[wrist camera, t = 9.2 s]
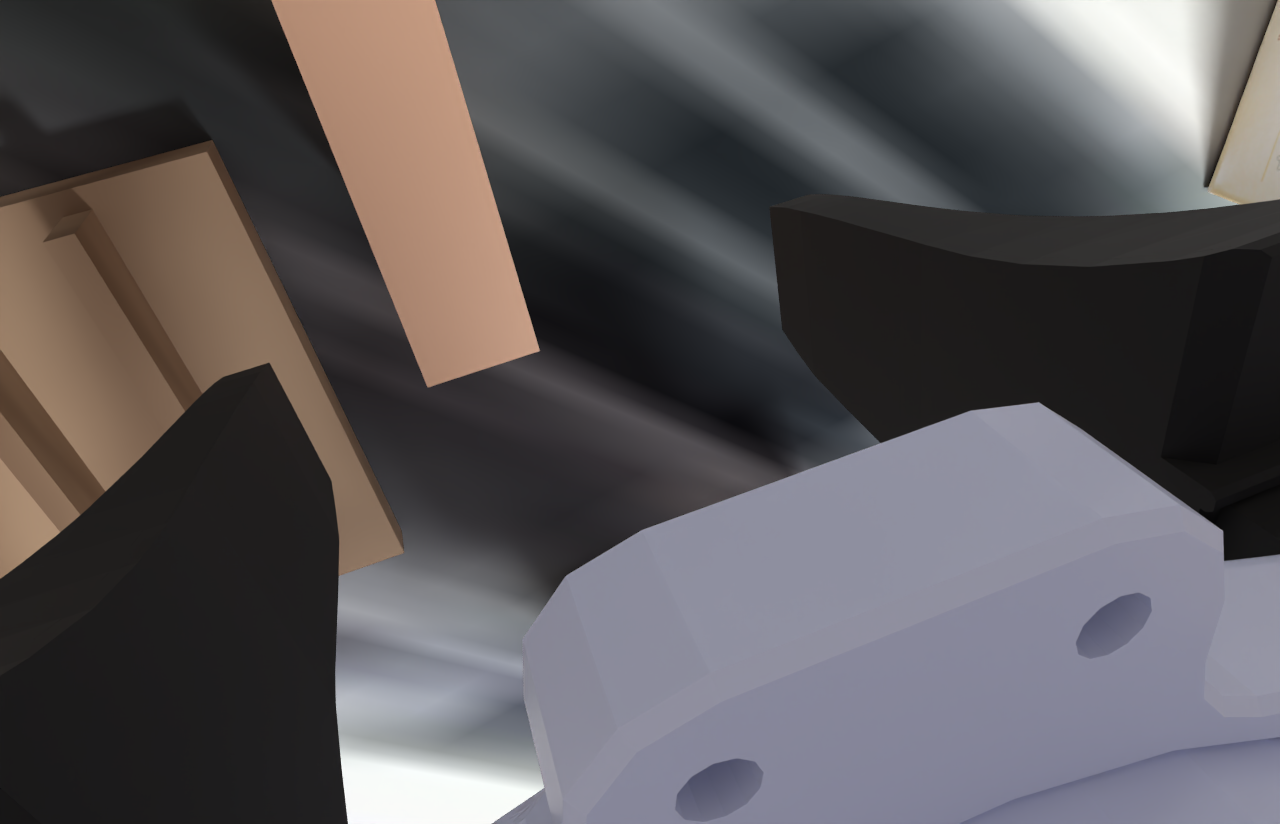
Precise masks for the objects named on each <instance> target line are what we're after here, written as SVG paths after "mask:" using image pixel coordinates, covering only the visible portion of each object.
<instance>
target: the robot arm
mask: <svg viewBox="0 0 1280 824" xmlns="http://www.w3.org/2000/svg"><path fill="white" fill-rule="evenodd" d="M770 217H771V226H772V236H773V245H774V255H775V264H776V274H777V283H778V293H779V302H780V312H781V321H782V330H783V331H784V333H785V334H786V336H787V337H788V339H789V340H790V342H791V343H792V345H793V346H794V348H795V349H796V351H797V352H798V354H799V355H800V356H801V358H802V359H803V360H804V362H805V363H806V365H807V366H808V367H809V369H810V370H811V371H812V373H813V374H814V375H815V376H816V377H817V378H818V380H819V381H820V382H821V383H822V384H823V385H824V386H825V387H826V388H827V389H828V390H829V391H830V392H831V393H832V394H833V395H834V396H835V397H836V398H837V399H838V400H839V401H840V402H841V403H842V404H843V406H844V407H845V408H846V409H847V410H848V411H849V412H850V413H851V414H852V415H853V416H854V417H855V418H856V419H857V420H858V421H859V422H860V423H861V424H862V425H863V426H864V427H865V428H866V429H867V430H868V431H869V432H870V433H871V434H872V435H873V436H874V437H875V438H876V439H877V440H878V441H879V442H880V444H878V445H875V446H872V447H869V448H867V449H864V450H861V451H858V452H856V453H853V454H850V455H847V456H844V457H842V458H839V459H836V460H833V461H831V462H828V463H825V464H822V465H820V466H817V467H814V468H811V469H809V470H806V471H803V472H800V473H798V474H795V475H792V476H789V477H787V478H784V479H781V480H778V481H776V482H773V483H770V484H767V485H765V486H762V487H759V488H756V489H754V490H751V491H748V492H745V493H743V494H740V495H737V496H734V497H732V498H729V499H726V500H723V501H721V502H718V503H715V504H712V505H710V506H707V507H704V508H701V509H699V510H696V511H693V512H690V513H688V514H685V515H682V516H679V517H676V518H674V519H671V520H668V521H665V522H663V523H660V524H657V525H654V526H652V527H649V528H646V529H643V530H641V531H639V532H638V533H636V534H634V535H633V536H631V537H629V538H628V539H626V540H624V541H623V542H621V543H619V544H618V545H616V546H614V547H613V548H611V549H609V550H608V551H606V552H604V553H603V554H601V555H600V556H598V557H596V558H595V559H593V560H591V561H590V562H588V563H586V564H585V565H583V566H581V567H580V568H578V569H576V570H575V571H573V572H571V573H570V574H568V575H566V576H565V578H564V579H563V581H562V582H561V584H560V585H559V586H558V588H557V589H556V591H555V592H554V594H553V595H552V597H551V598H550V600H549V601H548V602H547V604H546V605H545V607H544V608H543V610H542V611H541V613H540V614H539V616H538V617H537V619H536V620H535V621H534V623H533V624H532V626H531V627H530V629H529V630H528V632H527V633H526V635H525V636H524V637H523V697H524V702H525V706H526V710H527V715H528V719H529V723H530V727H531V732H532V736H533V740H534V744H535V749H536V753H537V757H538V762H539V766H540V770H541V774H542V779H543V783H544V787H545V788H544V789H542V790H541V791H539V792H538V793H536V794H535V795H533V796H532V797H531V798H529V799H528V800H526V801H525V802H523V803H522V804H520V805H519V806H517V807H516V808H514V809H513V810H511V811H510V812H508V813H507V814H505V815H504V816H502V817H501V818H500V819H498V820H497V821H495V822H494V823H492V824H1280V199H1278V200H1271V201H1264V202H1256V203H1248V204H1241V205H1233V206H1225V207H1217V208H1209V209H1199V210H1189V211H1179V212H1167V213H1151V214H1134V215H1117V216H1084V217H1074V216H1023V215H1004V214H992V213H981V212H970V211H959V210H950V209H941V208H933V207H925V206H918V205H910V204H903V203H896V202H889V201H882V200H874V199H867V198H859V197H851V196H841V195H828V194H815V195H806V196H803V197H800V198H797V199H793V200H790V201H787V202H784V203H780V204H777V205H774V206H771V207H770ZM338 576H339V532H338V523H337V515H336V508H335V501H334V494H333V487H332V480H331V479H330V477H329V475H328V473H327V471H326V469H325V467H324V465H323V463H322V461H321V460H320V458H319V456H318V454H317V452H316V450H315V448H314V446H313V444H312V442H311V441H310V439H309V437H308V435H307V433H306V431H305V429H304V427H303V425H302V423H301V421H300V420H299V418H298V416H297V414H296V412H295V410H294V408H293V406H292V404H291V402H290V401H289V399H288V397H287V395H286V393H285V391H284V389H283V387H282V385H281V383H280V382H279V380H278V378H277V376H276V374H275V372H274V370H273V368H272V366H271V364H270V362H269V363H266V364H263V365H260V366H257V367H253V368H250V369H247V370H244V371H240V372H237V373H234V374H231V375H228V376H224V377H222V378H221V379H219V380H218V381H217V382H215V383H214V384H213V385H212V386H211V387H209V388H208V389H207V390H206V391H205V392H204V393H203V394H202V395H201V396H200V397H199V398H198V399H197V400H196V401H195V402H194V403H193V404H192V405H191V406H190V407H189V408H188V409H187V410H186V411H185V412H184V413H183V414H182V415H181V416H180V417H179V418H178V420H177V421H176V422H175V423H174V424H173V425H172V426H171V427H170V428H169V429H168V430H167V431H166V432H165V433H164V434H163V435H162V436H161V437H160V438H159V439H158V440H157V441H156V442H155V444H154V445H153V446H152V447H151V448H150V449H149V450H148V451H147V452H146V453H145V454H144V455H143V456H142V457H141V458H140V459H139V460H138V461H137V462H136V463H135V464H134V465H133V466H132V467H131V468H130V469H129V470H128V471H127V472H125V473H124V474H123V475H122V476H121V477H120V478H119V479H118V480H117V481H116V482H115V483H114V484H113V485H112V486H111V487H110V488H109V489H108V490H107V491H106V492H105V493H104V494H102V495H101V496H100V497H99V498H98V499H97V500H96V501H95V502H94V503H93V504H92V505H91V506H90V507H89V508H88V509H87V510H85V511H84V512H83V513H82V514H81V515H80V516H79V517H78V518H76V519H75V520H74V521H73V522H72V523H71V524H69V525H68V526H67V527H66V528H65V529H63V530H62V531H61V532H60V533H59V534H58V535H56V536H55V537H54V538H53V539H51V540H50V541H49V542H48V543H46V544H45V545H44V546H42V547H41V548H40V549H39V550H37V551H36V552H35V553H34V554H32V555H31V556H30V557H29V558H27V559H26V560H25V561H24V562H22V563H21V564H20V565H18V566H17V567H16V568H14V569H13V570H12V571H10V572H9V573H8V574H6V575H5V576H3V577H2V578H1V579H0V824H348V821H347V813H346V804H345V795H344V787H343V778H342V769H341V758H340V747H339V736H338V725H337V714H336V697H335V662H336V634H337V606H338Z"/></svg>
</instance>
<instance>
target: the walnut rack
mask: <svg viewBox="0 0 1280 824" xmlns="http://www.w3.org/2000/svg"><path fill="white" fill-rule="evenodd" d="M269 362H270V364H271V366H272V368H273V370H274V372H275V374H276V376H277V378H278V380H279V382H280V383H281V385H282V387H283V389H284V391H285V393H286V395H287V397H288V399H289V401H290V402H291V404H292V406H293V408H294V410H295V412H296V414H297V416H298V418H299V420H300V421H301V423H302V425H303V427H304V429H305V431H306V433H307V435H308V437H309V439H310V441H311V442H312V444H313V446H314V448H315V450H316V452H317V454H318V456H319V458H320V460H321V461H322V463H323V465H324V467H325V469H326V471H327V473H328V475H329V477H330V479H331V480H332V487H333V494H334V501H335V508H336V515H337V523H338V532H339V576H340V575H343V574H345V573H348V572H351V571H354V570H357V569H360V568H363V567H365V566H368V565H371V564H374V563H377V562H380V561H382V560H385V559H388V558H391V557H394V556H397V555H400V554H402V553H404V546H403V537H402V531H401V529H400V526H399V524H398V522H397V520H396V518H395V516H394V514H393V512H392V510H391V508H390V506H389V504H388V502H387V500H386V498H385V495H384V493H383V491H382V489H381V487H380V485H379V483H378V481H377V479H376V477H375V475H374V473H373V471H372V469H371V467H370V465H369V462H368V460H367V458H366V456H365V454H364V452H363V450H362V448H361V446H360V444H359V442H358V440H357V438H356V436H355V434H354V431H353V429H352V427H351V425H350V423H349V421H348V419H347V417H346V415H345V413H344V411H343V409H342V407H341V405H340V403H339V401H338V398H337V396H336V394H335V392H334V390H333V388H332V386H331V384H330V382H329V380H328V378H327V376H326V374H325V372H324V370H323V367H322V365H321V363H320V361H319V359H318V357H317V355H316V353H315V351H314V349H313V347H312V345H311V343H310V341H309V339H308V336H307V334H306V332H305V330H304V328H303V326H302V324H301V322H300V320H299V318H298V316H297V314H296V312H295V310H294V308H293V306H292V303H291V301H290V299H289V297H288V295H287V293H286V291H285V289H284V287H283V285H282V283H281V281H280V279H279V277H278V275H277V272H276V270H275V268H274V266H273V264H272V262H271V260H270V258H269V256H268V254H267V252H266V250H265V248H264V246H263V244H262V241H261V239H260V237H259V235H258V233H257V231H256V229H255V227H254V225H253V223H252V221H251V219H250V217H249V215H248V213H247V211H246V208H245V206H244V204H243V202H242V200H241V198H240V196H239V194H238V192H237V190H236V188H235V186H234V184H233V182H232V180H231V177H230V175H229V173H228V171H227V169H226V167H225V165H224V163H223V161H222V159H221V157H220V155H219V153H218V151H217V149H216V147H215V144H214V142H213V140H210V141H207V142H203V143H199V144H195V145H192V146H188V147H184V148H180V149H177V150H173V151H169V152H166V153H162V154H158V155H154V156H151V157H147V158H143V159H140V160H136V161H132V162H128V163H125V164H121V165H117V166H113V167H110V168H106V169H102V170H99V171H95V172H91V173H87V174H84V175H80V176H76V177H72V178H69V179H65V180H61V181H58V182H54V183H50V184H46V185H43V186H39V187H35V188H32V189H28V190H24V191H20V192H17V193H13V194H9V195H5V196H2V197H0V579H1V578H2V577H3V576H5V575H6V574H8V573H9V572H10V571H12V570H13V569H14V568H16V567H17V566H18V565H20V564H21V563H22V562H24V561H25V560H26V559H27V558H29V557H30V556H31V555H32V554H34V553H35V552H36V551H37V550H39V549H40V548H41V547H42V546H44V545H45V544H46V543H48V542H49V541H50V540H51V539H53V538H54V537H55V536H56V535H58V534H59V533H60V532H61V531H62V530H63V529H65V528H66V527H67V526H68V525H69V524H71V523H72V522H73V521H74V520H75V519H76V518H78V517H79V516H80V515H81V514H82V513H83V512H84V511H85V510H87V509H88V508H89V507H90V506H91V505H92V504H93V503H94V502H95V501H96V500H97V499H98V498H99V497H100V496H101V495H102V494H104V493H105V492H106V491H107V490H108V489H109V488H110V487H111V486H112V485H113V484H114V483H115V482H116V481H117V480H118V479H119V478H120V477H121V476H122V475H123V474H124V473H125V472H127V471H128V470H129V469H130V468H131V467H132V466H133V465H134V464H135V463H136V462H137V461H138V460H139V459H140V458H141V457H142V456H143V455H144V454H145V453H146V452H147V451H148V450H149V449H150V448H151V447H152V446H153V445H154V444H155V442H156V441H157V440H158V439H159V438H160V437H161V436H162V435H163V434H164V433H165V432H166V431H167V430H168V429H169V428H170V427H171V426H172V425H173V424H174V423H175V422H176V421H177V420H178V418H179V417H180V416H181V415H182V414H183V413H184V412H185V411H186V410H187V409H188V408H189V407H190V406H191V405H192V404H193V403H194V402H195V401H196V400H197V399H198V398H199V397H200V396H201V395H202V394H203V393H204V392H205V391H206V390H207V389H208V388H209V387H211V386H212V385H213V384H214V383H215V382H217V381H218V380H219V379H221V378H222V377H224V376H228V375H231V374H234V373H237V372H240V371H244V370H247V369H250V368H253V367H257V366H260V365H263V364H266V363H269Z"/></svg>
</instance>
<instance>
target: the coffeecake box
mask: <svg viewBox="0 0 1280 824" xmlns="http://www.w3.org/2000/svg"><path fill="white" fill-rule="evenodd" d="M1208 192H1209V193H1212V194H1214V195H1217V196H1219V197H1222V198H1224V199H1227V200H1230V201H1232V202H1235V203H1237V204H1240V205H1241V204H1248V203H1256V202H1264V201H1271V200H1278V199H1280V0H1278V1H1277V4H1276V6H1275V9H1274V12H1273V15H1272V18H1271V20H1270V23H1269V26H1268V28H1267V31H1266V33H1265V36H1264V39H1263V41H1262V44H1261V46H1260V49H1259V52H1258V55H1257V57H1256V60H1255V63H1254V66H1253V69H1252V71H1251V74H1250V77H1249V80H1248V82H1247V85H1246V88H1245V90H1244V93H1243V96H1242V98H1241V101H1240V104H1239V106H1238V109H1237V112H1236V115H1235V118H1234V121H1233V124H1232V126H1231V129H1230V131H1229V134H1228V137H1227V140H1226V143H1225V145H1224V148H1223V150H1222V153H1221V156H1220V158H1219V161H1218V164H1217V166H1216V169H1215V172H1214V175H1213V177H1212V180H1211V182H1210V185H1209V188H1208Z"/></svg>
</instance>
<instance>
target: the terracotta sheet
mask: <svg viewBox="0 0 1280 824" xmlns="http://www.w3.org/2000/svg"><path fill="white" fill-rule="evenodd" d="M271 1H272V3H273V6H274V8H275V11H276V13H277V16H278V18H279V20H280V23H281V25H282V28H283V30H284V33H285V35H286V38H287V40H288V43H289V45H290V48H291V50H292V53H293V55H294V58H295V60H296V63H297V65H298V68H299V70H300V73H301V75H302V77H303V80H304V82H305V85H306V87H307V90H308V92H309V95H310V97H311V100H312V102H313V105H314V107H315V110H316V112H317V115H318V117H319V120H320V122H321V125H322V127H323V130H324V132H325V135H326V137H327V139H328V142H329V144H330V147H331V149H332V152H333V154H334V157H335V159H336V162H337V164H338V167H339V169H340V172H341V174H342V177H343V179H344V182H345V184H346V187H347V189H348V192H349V194H350V196H351V199H352V201H353V204H354V206H355V209H356V211H357V214H358V216H359V219H360V221H361V224H362V226H363V229H364V231H365V234H366V236H367V239H368V241H369V244H370V246H371V249H372V251H373V253H374V256H375V258H376V261H377V263H378V266H379V268H380V271H381V273H382V276H383V278H384V281H385V283H386V286H387V288H388V291H389V293H390V296H391V298H392V301H393V303H394V306H395V308H396V310H397V313H398V315H399V318H400V320H401V323H402V325H403V328H404V330H405V333H406V335H407V338H408V340H409V343H410V345H411V348H412V350H413V353H414V355H415V358H416V360H417V363H418V365H419V367H420V370H421V372H422V375H423V377H424V380H425V382H426V385H427V387H431V386H434V385H437V384H440V383H443V382H446V381H450V380H453V379H456V378H459V377H462V376H465V375H468V374H471V373H474V372H477V371H480V370H483V369H486V368H489V367H492V366H495V365H499V364H502V363H505V362H508V361H511V360H514V359H517V358H520V357H523V356H526V355H529V354H532V353H535V352H538V351H540V350H539V346H538V343H537V339H536V336H535V333H534V329H533V326H532V323H531V319H530V316H529V313H528V309H527V306H526V303H525V299H524V296H523V293H522V289H521V286H520V283H519V279H518V276H517V273H516V269H515V266H514V263H513V259H512V256H511V253H510V249H509V246H508V243H507V239H506V236H505V233H504V229H503V226H502V223H501V219H500V216H499V213H498V209H497V206H496V203H495V199H494V196H493V192H492V189H491V186H490V182H489V179H488V176H487V172H486V169H485V166H484V162H483V159H482V156H481V152H480V149H479V146H478V142H477V139H476V136H475V132H474V129H473V126H472V122H471V119H470V116H469V112H468V109H467V106H466V102H465V99H464V96H463V92H462V89H461V86H460V82H459V79H458V76H457V72H456V69H455V66H454V62H453V59H452V56H451V52H450V49H449V45H448V42H447V39H446V35H445V32H444V29H443V25H442V22H441V19H440V15H439V12H438V9H437V5H436V2H435V0H271Z"/></svg>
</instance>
